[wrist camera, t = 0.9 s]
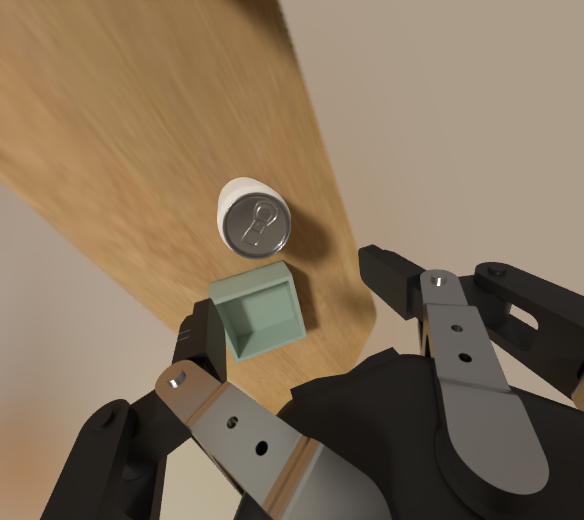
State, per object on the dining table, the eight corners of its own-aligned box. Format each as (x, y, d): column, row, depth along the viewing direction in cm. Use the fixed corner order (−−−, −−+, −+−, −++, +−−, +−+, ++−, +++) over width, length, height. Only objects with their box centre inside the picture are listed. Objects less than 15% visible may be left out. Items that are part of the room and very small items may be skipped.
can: (279, 193, 30) (310, 211, 20) (256, 236, 32) (273, 274, 21) (232, 166, 28) (239, 169, 17) (209, 214, 29) (202, 245, 18)
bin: (209, 283, 32) (207, 302, 28) (282, 260, 34) (291, 274, 30) (234, 339, 37) (235, 363, 33) (297, 316, 39) (307, 336, 34)
